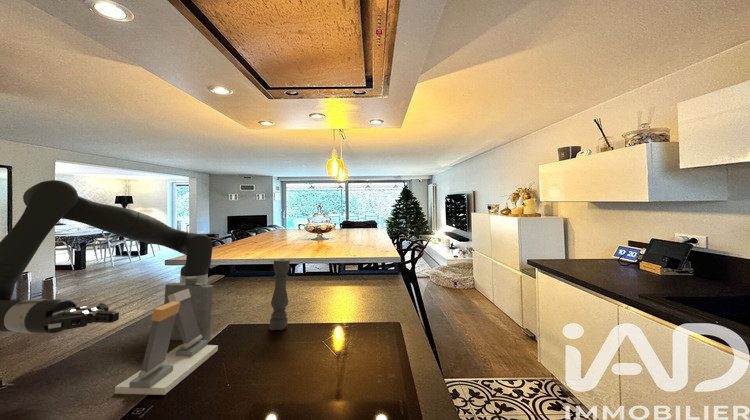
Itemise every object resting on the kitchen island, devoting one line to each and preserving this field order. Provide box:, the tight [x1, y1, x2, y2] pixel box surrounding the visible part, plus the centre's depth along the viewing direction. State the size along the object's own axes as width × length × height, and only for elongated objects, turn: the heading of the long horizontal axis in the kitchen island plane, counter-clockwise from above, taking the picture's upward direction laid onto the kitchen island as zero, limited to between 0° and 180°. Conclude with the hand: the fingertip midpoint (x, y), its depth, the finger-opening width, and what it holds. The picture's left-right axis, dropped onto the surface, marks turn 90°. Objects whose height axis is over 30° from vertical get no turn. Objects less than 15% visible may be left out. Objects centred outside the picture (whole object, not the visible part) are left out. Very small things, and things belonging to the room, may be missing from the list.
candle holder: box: [269, 258, 291, 330], centre depth 105 cm, size 6×6×25 cm
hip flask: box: [163, 276, 214, 342], centre depth 93 cm, size 16×4×20 cm, turn 85°
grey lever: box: [168, 289, 202, 349], centre depth 82 cm, size 2×6×16 cm, turn 2°
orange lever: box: [139, 301, 181, 379], centre depth 67 cm, size 2×6×16 cm, turn 1°
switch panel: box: [114, 340, 219, 396], centre depth 74 cm, size 11×23×3 cm, turn 1°
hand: (116, 317), depth 67 cm, fingers closed
